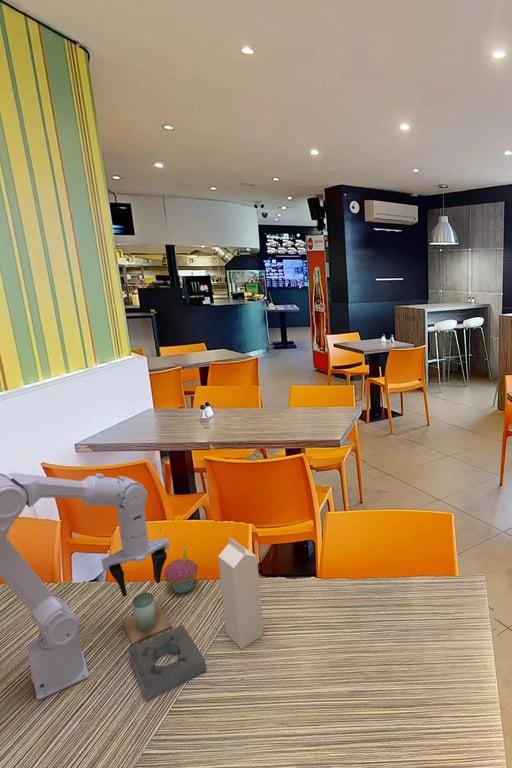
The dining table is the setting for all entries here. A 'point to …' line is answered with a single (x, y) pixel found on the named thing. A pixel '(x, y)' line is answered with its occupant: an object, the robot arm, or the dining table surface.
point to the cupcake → (181, 573)
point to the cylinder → (144, 612)
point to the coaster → (140, 636)
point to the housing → (172, 675)
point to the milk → (240, 594)
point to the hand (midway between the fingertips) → (140, 587)
